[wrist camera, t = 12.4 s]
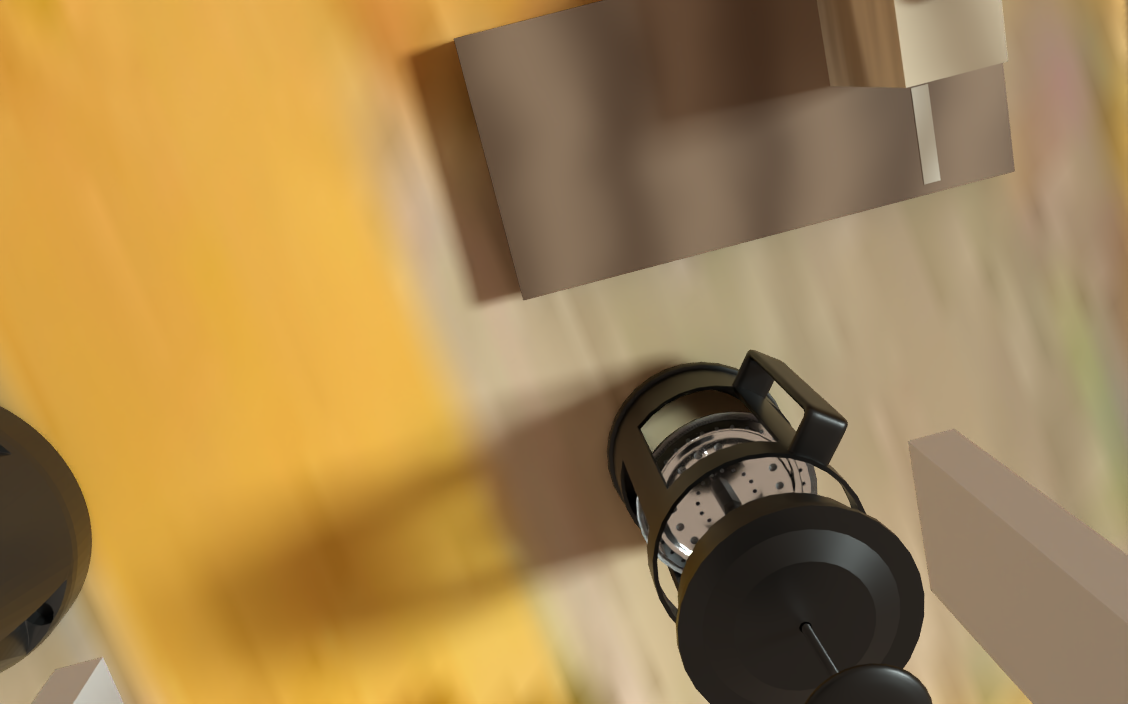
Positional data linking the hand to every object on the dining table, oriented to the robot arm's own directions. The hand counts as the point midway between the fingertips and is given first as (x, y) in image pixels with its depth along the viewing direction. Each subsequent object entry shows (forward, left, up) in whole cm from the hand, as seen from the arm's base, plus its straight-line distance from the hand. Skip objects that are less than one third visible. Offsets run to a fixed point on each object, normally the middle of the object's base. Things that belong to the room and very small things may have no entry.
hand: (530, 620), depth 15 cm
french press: (+8, -12, -33) cm, 36 cm away
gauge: (+19, +8, -33) cm, 39 cm away
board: (+13, +4, -33) cm, 35 cm away
